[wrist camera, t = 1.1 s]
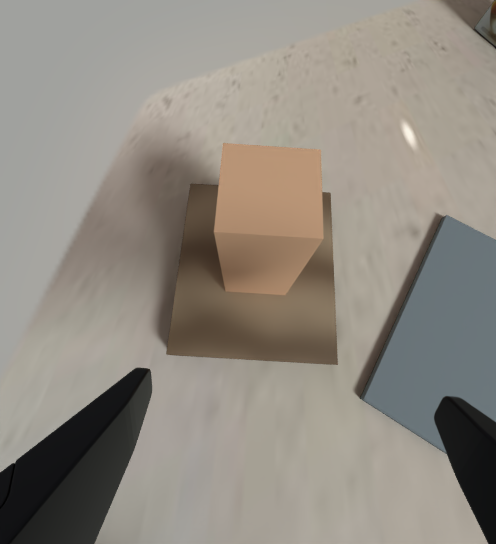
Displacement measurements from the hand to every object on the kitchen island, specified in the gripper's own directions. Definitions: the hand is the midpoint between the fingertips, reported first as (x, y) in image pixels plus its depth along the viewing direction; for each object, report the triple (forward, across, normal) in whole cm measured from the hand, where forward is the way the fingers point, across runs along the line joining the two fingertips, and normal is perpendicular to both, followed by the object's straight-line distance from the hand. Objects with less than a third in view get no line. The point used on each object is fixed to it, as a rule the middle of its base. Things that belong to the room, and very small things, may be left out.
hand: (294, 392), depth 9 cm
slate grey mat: (+12, -17, +6) cm, 22 cm away
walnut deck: (+15, +1, +3) cm, 15 cm away
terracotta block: (+14, +1, +2) cm, 14 cm away
